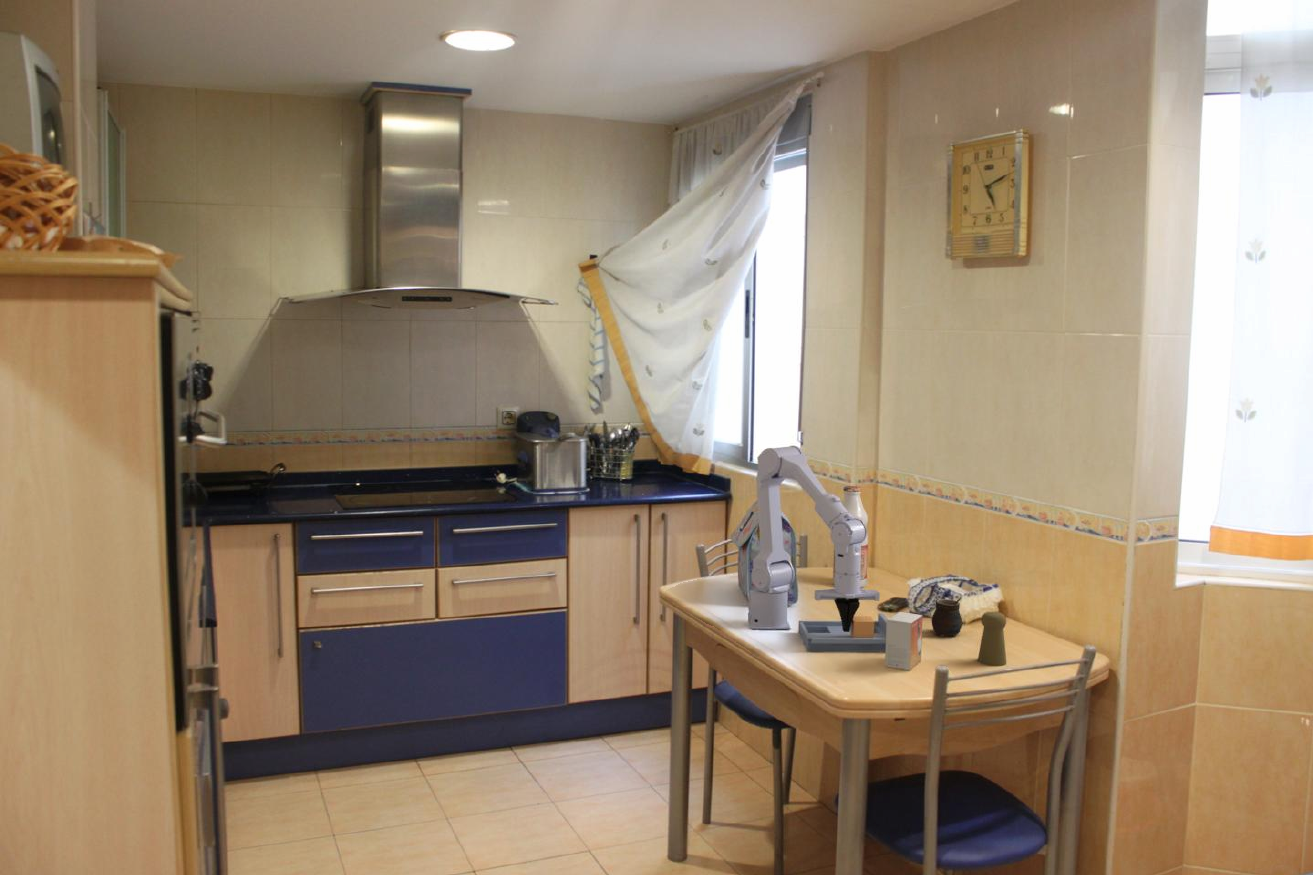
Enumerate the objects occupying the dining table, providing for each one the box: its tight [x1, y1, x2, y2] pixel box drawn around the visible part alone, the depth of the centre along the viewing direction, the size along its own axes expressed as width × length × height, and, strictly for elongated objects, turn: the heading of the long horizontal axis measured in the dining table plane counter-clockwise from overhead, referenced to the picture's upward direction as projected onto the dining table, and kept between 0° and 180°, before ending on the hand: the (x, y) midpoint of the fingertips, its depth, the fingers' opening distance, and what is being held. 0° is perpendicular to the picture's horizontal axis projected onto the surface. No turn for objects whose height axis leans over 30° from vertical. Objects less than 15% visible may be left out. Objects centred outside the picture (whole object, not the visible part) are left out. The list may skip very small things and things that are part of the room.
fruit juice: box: [832, 485, 869, 589], centre depth 307 cm, size 9×9×28 cm
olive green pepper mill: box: [977, 611, 1007, 667], centre depth 238 cm, size 6×6×11 cm
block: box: [850, 615, 875, 638], centre depth 249 cm, size 4×4×4 cm
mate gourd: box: [931, 596, 963, 638], centre depth 259 cm, size 7×8×10 cm
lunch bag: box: [730, 499, 799, 606], centre depth 293 cm, size 22×17×26 cm
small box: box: [884, 611, 924, 671], centre depth 236 cm, size 8×6×10 cm
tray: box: [797, 612, 888, 653], centre depth 252 cm, size 20×15×5 cm
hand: (846, 630), depth 249 cm, fingers closed
